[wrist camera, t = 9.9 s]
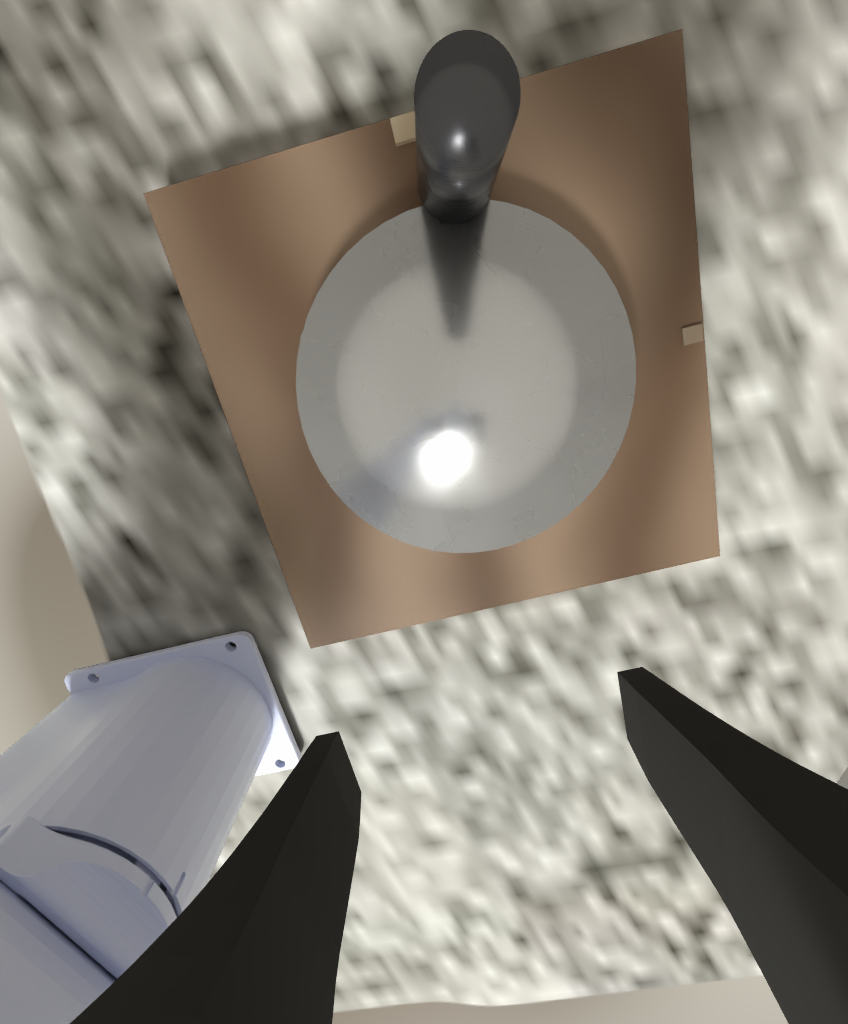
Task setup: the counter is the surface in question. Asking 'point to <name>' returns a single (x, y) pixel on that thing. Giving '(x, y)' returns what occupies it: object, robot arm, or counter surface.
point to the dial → (465, 340)
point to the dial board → (393, 190)
